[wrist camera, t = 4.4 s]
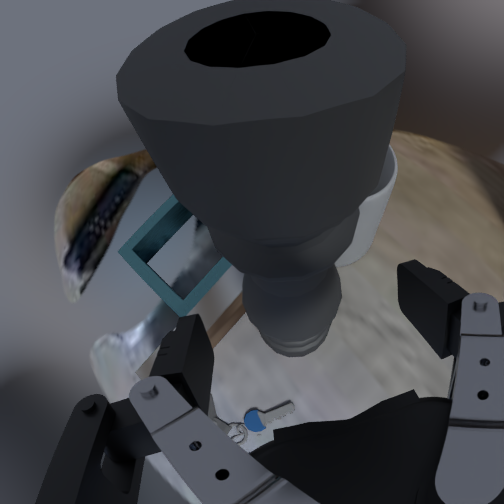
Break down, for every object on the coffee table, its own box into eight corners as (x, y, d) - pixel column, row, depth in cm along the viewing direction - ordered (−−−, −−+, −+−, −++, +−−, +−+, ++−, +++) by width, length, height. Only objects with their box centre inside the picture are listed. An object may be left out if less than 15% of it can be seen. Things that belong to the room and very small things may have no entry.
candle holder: (286, 371, 25) (173, 231, 3) (247, 316, 28) (84, 64, 6) (342, 329, 26) (476, 63, 4) (302, 278, 29) (283, -18, 6)
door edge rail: (278, 246, 31) (273, 219, 26) (294, 258, 30) (292, 231, 25) (162, 376, 27) (135, 372, 22) (176, 391, 26) (150, 390, 21)
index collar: (197, 198, 35) (187, 180, 32) (267, 248, 31) (263, 231, 28) (133, 265, 32) (117, 251, 29) (195, 328, 28) (182, 319, 25)
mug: (368, 275, 28) (399, 214, 18) (282, 259, 30) (271, 192, 20) (377, 177, 32) (395, 103, 23) (305, 165, 34) (302, 89, 25)
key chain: (168, 412, 25) (165, 412, 25) (223, 349, 27) (221, 348, 27) (285, 503, 20) (284, 506, 19) (344, 438, 22) (346, 440, 22)
